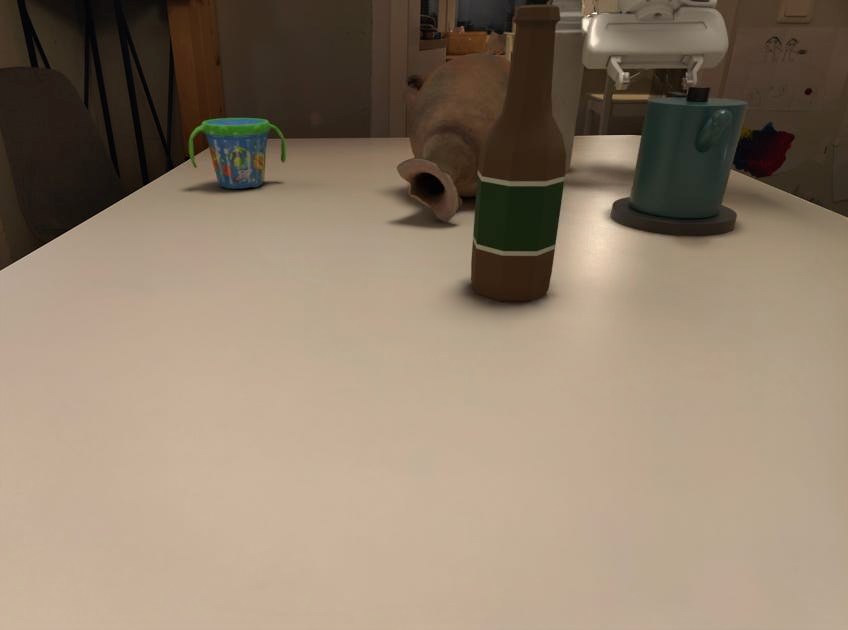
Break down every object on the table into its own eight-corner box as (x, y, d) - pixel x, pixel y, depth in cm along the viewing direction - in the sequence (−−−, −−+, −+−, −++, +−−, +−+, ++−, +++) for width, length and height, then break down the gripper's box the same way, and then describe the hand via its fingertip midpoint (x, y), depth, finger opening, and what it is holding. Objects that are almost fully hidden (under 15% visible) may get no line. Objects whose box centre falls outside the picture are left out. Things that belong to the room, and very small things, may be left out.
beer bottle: (555, 281, 62) (594, 5, 50) (540, 308, 55) (581, 1, 44) (480, 270, 65) (501, 8, 53) (458, 296, 58) (476, 4, 47)
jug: (453, 175, 109) (372, 248, 88) (429, 56, 99) (331, 108, 79) (569, 161, 97) (507, 241, 77) (554, 25, 88) (479, 77, 68)
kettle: (611, 188, 91) (630, 80, 84) (689, 190, 90) (715, 80, 83) (649, 226, 73) (676, 93, 66) (747, 229, 72) (786, 93, 65)
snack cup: (285, 176, 109) (280, 115, 104) (292, 189, 100) (288, 122, 95) (194, 181, 106) (185, 118, 101) (193, 195, 97) (184, 126, 92)
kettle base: (709, 207, 87) (712, 196, 87) (753, 237, 74) (757, 225, 74) (600, 204, 89) (602, 194, 88) (624, 233, 76) (626, 221, 75)
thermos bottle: (515, 168, 113) (533, -8, 100) (542, 163, 118) (562, -6, 105) (552, 175, 108) (575, -10, 95) (578, 169, 112) (604, -9, 99)
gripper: (585, -5, 92) (589, 71, 88) (728, -7, 90) (738, 70, 86) (575, 29, 98) (578, 101, 94) (708, 28, 96) (718, 101, 92)
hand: (656, 86), depth 90 cm, fingers open, 8 cm apart
